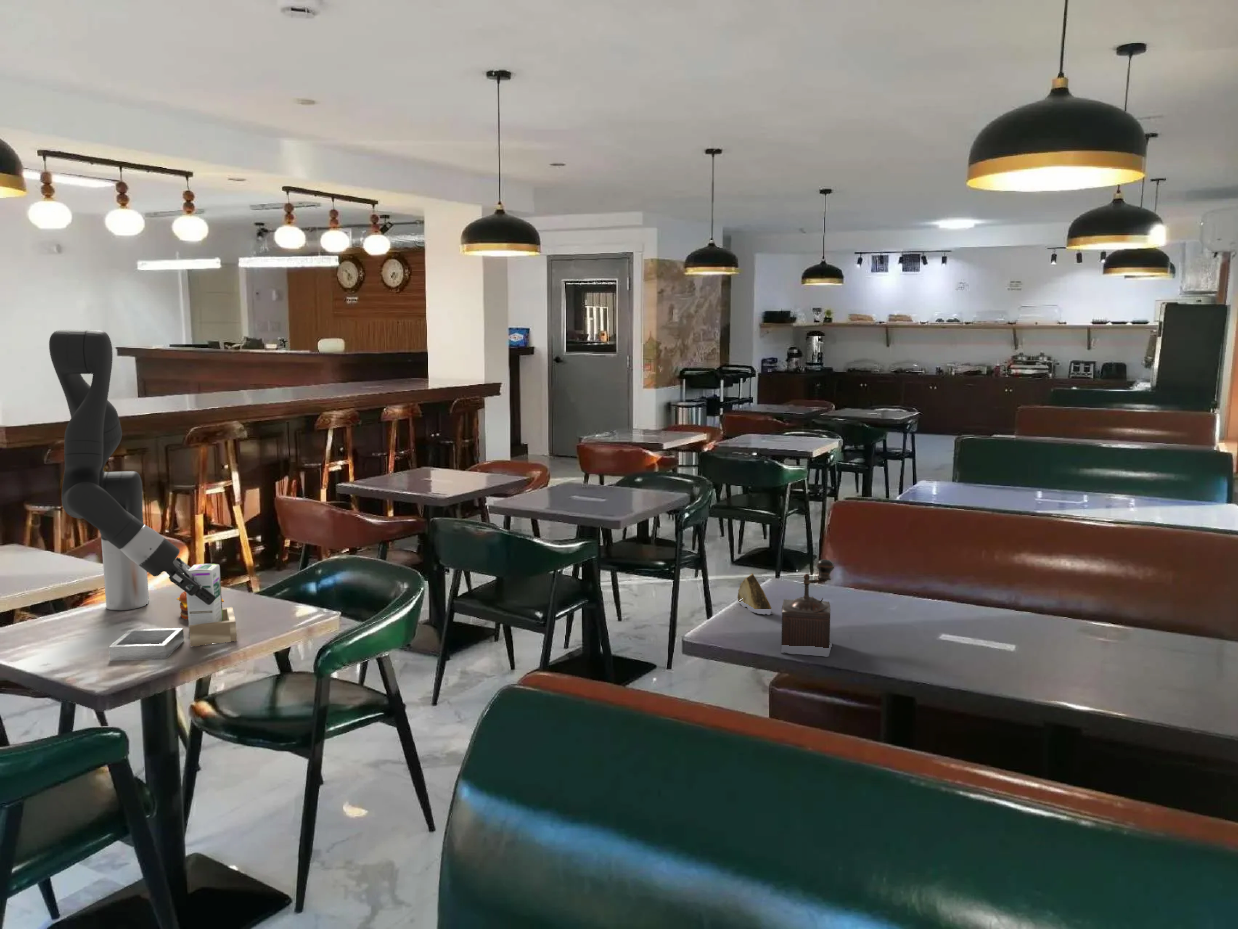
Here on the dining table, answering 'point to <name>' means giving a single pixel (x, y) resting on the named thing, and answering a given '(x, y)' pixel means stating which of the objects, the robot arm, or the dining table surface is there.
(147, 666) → the dining table surface
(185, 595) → the hamburger
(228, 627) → the cradle
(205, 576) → the syrup box
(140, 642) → the gray rectangular tray
